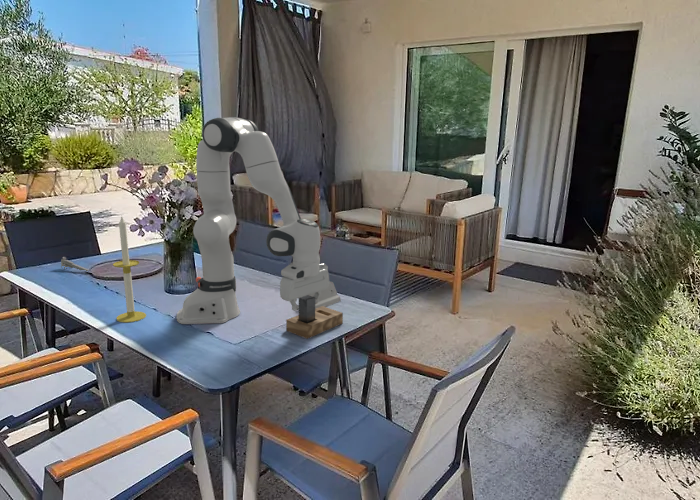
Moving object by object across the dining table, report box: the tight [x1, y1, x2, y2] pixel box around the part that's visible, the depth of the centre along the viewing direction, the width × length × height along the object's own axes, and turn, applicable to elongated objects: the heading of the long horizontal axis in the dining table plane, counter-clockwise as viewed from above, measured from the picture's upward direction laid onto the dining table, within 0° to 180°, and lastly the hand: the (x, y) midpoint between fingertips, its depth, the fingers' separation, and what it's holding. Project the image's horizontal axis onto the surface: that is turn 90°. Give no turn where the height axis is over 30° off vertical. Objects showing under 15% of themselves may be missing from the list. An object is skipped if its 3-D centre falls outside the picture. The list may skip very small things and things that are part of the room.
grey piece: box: [309, 280, 342, 309], centre depth 192 cm, size 17×5×10 cm, turn 140°
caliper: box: [60, 256, 89, 271], centre depth 228 cm, size 20×1×6 cm, turn 68°
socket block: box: [285, 306, 344, 340], centre depth 170 cm, size 18×10×4 cm, turn 140°
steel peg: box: [298, 295, 315, 324], centre depth 166 cm, size 4×4×12 cm
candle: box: [112, 215, 147, 324], centre depth 171 cm, size 10×10×38 cm
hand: (305, 306), depth 166 cm, fingers open, 8 cm apart
